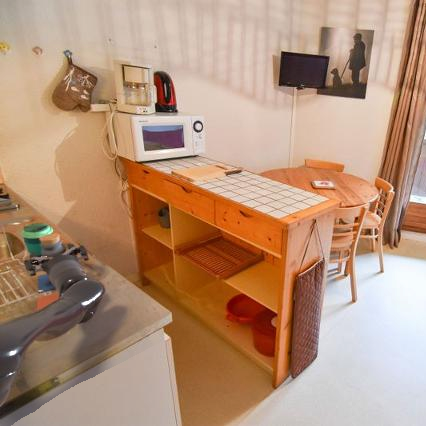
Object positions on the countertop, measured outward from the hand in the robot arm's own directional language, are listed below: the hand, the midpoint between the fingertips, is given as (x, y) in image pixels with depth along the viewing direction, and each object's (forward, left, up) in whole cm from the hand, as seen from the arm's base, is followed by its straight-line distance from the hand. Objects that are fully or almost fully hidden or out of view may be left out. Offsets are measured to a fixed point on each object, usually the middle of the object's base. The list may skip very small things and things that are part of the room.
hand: (52, 250), depth 97 cm
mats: (0, -7, -10) cm, 13 cm away
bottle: (0, -1, -10) cm, 10 cm away
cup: (-4, +17, -11) cm, 21 cm away
